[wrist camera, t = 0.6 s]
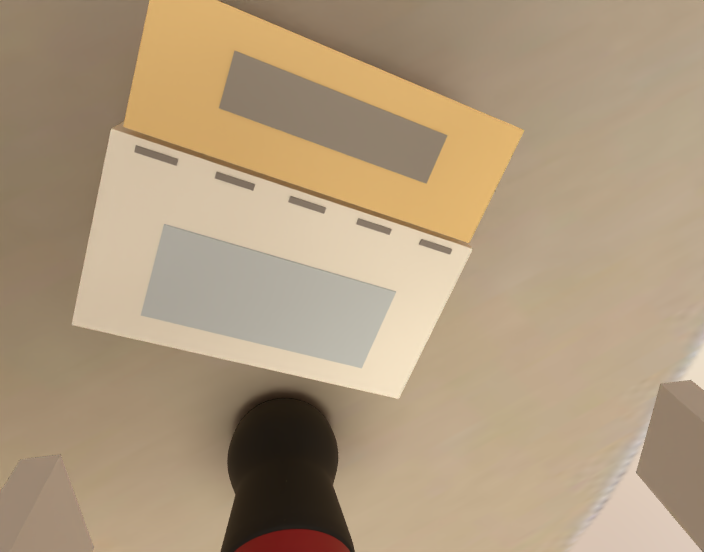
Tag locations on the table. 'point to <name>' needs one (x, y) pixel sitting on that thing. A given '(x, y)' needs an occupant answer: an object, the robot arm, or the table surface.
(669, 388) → the robot arm
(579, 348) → the table surface
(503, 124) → the tan flat board
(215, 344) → the cream box
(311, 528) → the cola bottle
